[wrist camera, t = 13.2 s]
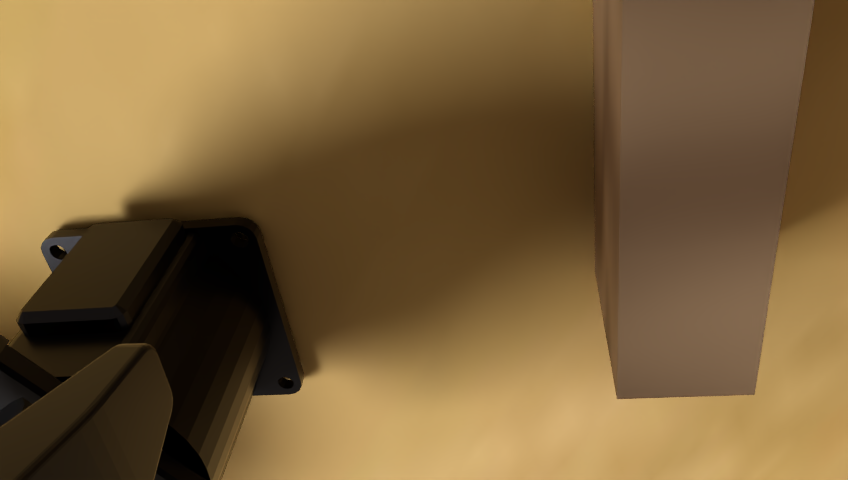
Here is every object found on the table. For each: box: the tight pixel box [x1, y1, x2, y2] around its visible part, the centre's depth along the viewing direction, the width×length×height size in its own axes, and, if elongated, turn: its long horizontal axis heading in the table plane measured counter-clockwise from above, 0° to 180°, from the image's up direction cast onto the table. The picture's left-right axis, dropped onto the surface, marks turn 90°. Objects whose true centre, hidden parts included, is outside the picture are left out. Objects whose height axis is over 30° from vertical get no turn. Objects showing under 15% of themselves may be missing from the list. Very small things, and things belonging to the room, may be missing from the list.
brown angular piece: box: [593, 0, 815, 399], centre depth 16 cm, size 11×14×5 cm
